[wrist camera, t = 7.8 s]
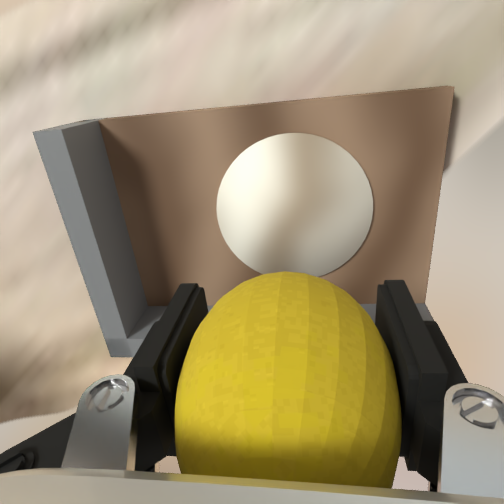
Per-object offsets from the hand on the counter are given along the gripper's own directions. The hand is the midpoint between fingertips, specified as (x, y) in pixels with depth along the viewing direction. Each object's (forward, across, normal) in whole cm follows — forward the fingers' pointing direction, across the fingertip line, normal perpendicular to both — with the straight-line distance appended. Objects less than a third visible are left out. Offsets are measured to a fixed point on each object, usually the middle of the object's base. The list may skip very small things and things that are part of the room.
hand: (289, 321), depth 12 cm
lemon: (+1, 0, 0) cm, 1 cm away
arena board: (+11, +2, +1) cm, 12 cm away
